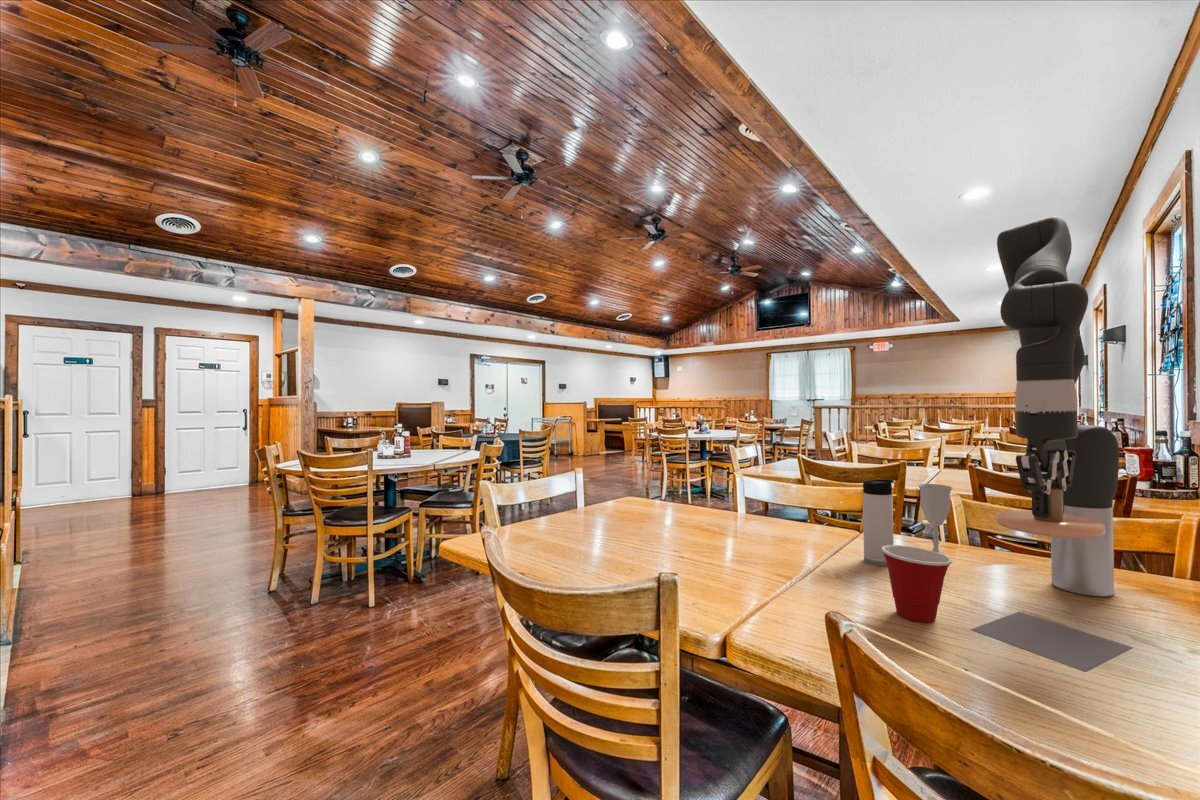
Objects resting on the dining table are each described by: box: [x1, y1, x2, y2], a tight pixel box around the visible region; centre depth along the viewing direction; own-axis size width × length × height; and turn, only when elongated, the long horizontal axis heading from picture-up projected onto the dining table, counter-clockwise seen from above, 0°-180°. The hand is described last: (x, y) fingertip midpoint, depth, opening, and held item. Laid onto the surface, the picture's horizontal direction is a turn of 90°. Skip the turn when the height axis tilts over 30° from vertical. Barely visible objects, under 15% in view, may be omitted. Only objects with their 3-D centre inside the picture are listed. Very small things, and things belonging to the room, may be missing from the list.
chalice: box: [917, 483, 953, 555], centre depth 122 cm, size 7×7×18 cm
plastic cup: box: [882, 544, 953, 624], centre depth 91 cm, size 11×11×12 cm
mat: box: [970, 611, 1134, 673], centre depth 82 cm, size 15×15×1 cm
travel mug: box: [862, 478, 895, 567], centre depth 122 cm, size 6×7×20 cm
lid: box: [996, 487, 1105, 538], centre depth 82 cm, size 13×13×6 cm
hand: (1048, 514), depth 82 cm, fingers closed on lid, 3 cm apart
